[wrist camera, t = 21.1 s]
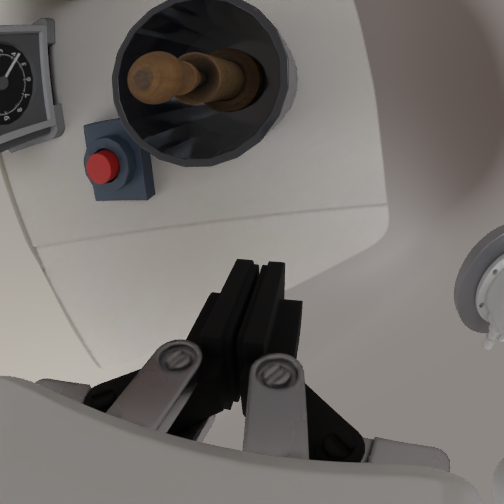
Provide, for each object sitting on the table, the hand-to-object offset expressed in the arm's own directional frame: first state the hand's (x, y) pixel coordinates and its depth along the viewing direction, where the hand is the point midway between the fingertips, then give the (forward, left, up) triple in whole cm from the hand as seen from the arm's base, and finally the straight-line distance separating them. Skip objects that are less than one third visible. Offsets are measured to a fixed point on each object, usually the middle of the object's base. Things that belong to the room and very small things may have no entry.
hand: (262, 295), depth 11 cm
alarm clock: (+13, +38, -24) cm, 47 cm away
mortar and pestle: (+8, +7, -24) cm, 26 cm away
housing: (0, +21, -24) cm, 32 cm away
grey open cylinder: (+8, +7, -24) cm, 26 cm away
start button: (0, +21, -20) cm, 29 cm away
